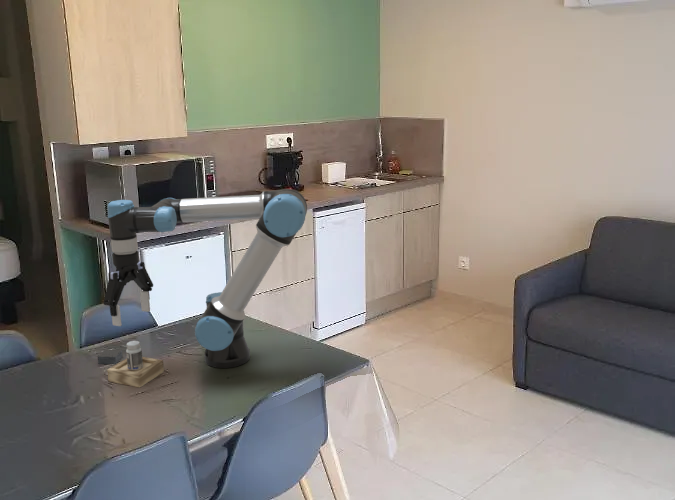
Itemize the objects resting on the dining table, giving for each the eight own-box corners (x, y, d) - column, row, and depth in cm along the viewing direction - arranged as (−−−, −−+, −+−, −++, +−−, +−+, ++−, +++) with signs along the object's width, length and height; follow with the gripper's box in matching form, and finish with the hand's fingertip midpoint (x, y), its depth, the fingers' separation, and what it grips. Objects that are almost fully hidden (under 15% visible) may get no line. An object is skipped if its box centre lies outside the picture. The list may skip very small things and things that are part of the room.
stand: (163, 371, 208) (163, 360, 207) (139, 387, 197) (138, 375, 196) (133, 366, 212) (132, 355, 211) (108, 381, 201) (107, 369, 200)
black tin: (122, 357, 220) (122, 349, 219) (116, 365, 214) (115, 356, 213) (105, 357, 220) (104, 349, 219) (98, 364, 214) (97, 356, 213)
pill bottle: (145, 364, 206) (143, 340, 204) (139, 371, 201) (137, 346, 199) (131, 364, 206) (129, 339, 204) (125, 370, 202) (122, 345, 200)
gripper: (141, 241, 207) (147, 304, 212) (85, 260, 184) (93, 330, 190) (160, 243, 204) (166, 306, 209) (106, 262, 182) (114, 333, 187)
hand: (132, 318), depth 199 cm, fingers open, 13 cm apart
